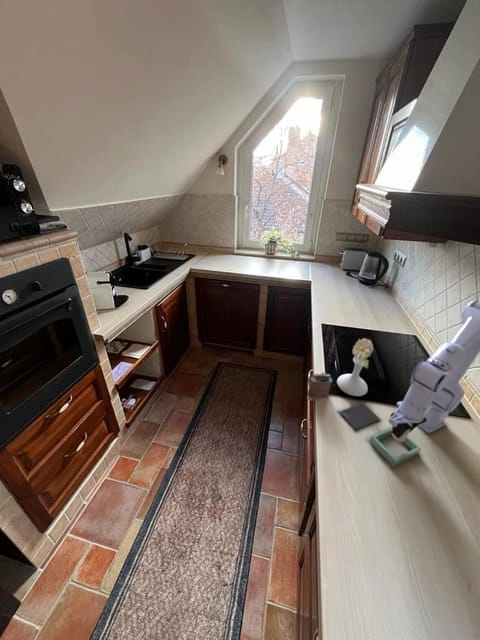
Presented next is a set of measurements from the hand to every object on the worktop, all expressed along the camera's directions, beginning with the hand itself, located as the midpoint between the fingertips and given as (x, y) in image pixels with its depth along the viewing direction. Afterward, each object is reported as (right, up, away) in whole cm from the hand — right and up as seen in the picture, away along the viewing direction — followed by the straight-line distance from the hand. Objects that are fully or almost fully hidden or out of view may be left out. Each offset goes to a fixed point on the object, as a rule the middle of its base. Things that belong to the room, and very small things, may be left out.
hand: (400, 432), depth 76 cm
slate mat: (-6, 0, +13) cm, 15 cm away
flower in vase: (-4, +6, +25) cm, 26 cm away
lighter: (-18, +5, +22) cm, 29 cm away
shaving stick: (0, -2, +1) cm, 2 cm away
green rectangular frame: (0, -6, +3) cm, 7 cm away
